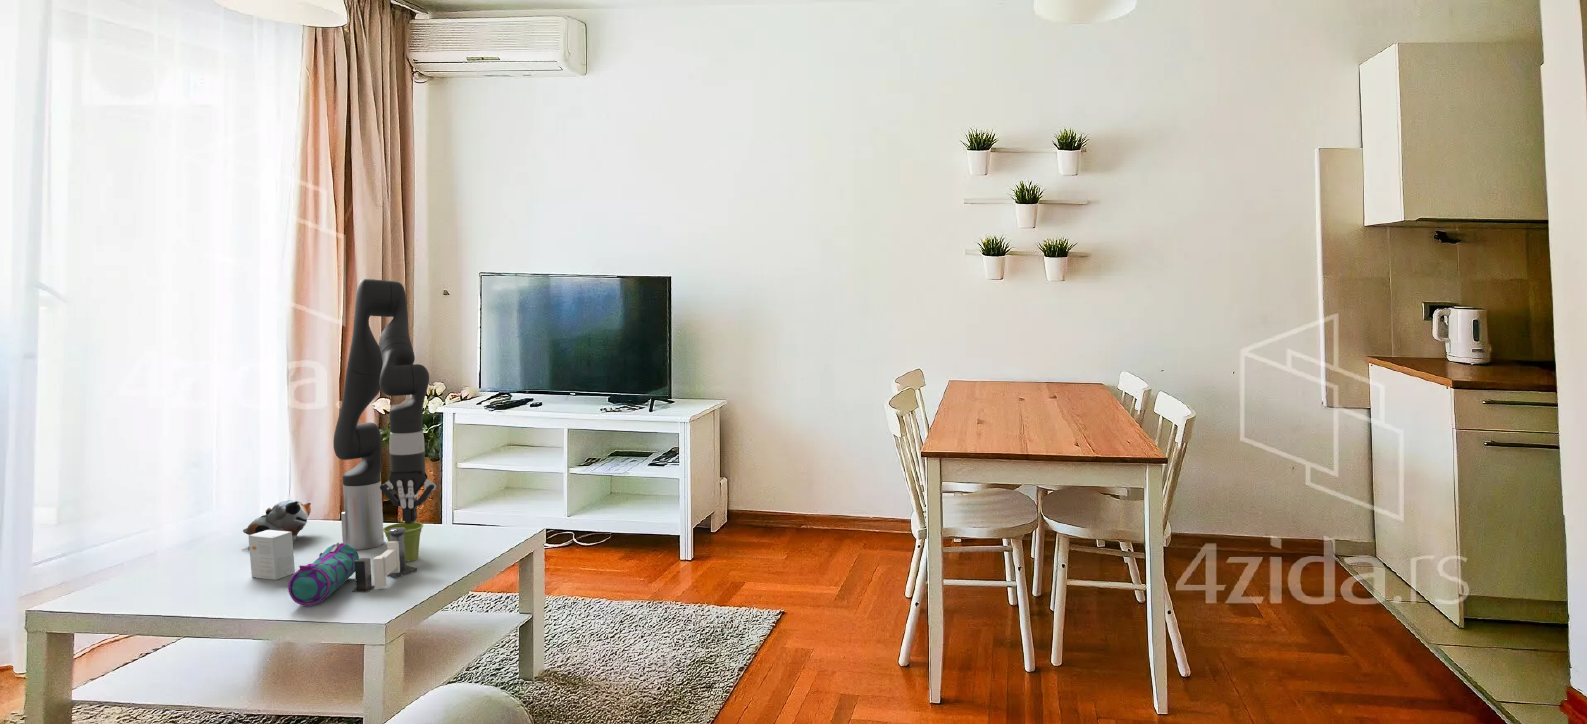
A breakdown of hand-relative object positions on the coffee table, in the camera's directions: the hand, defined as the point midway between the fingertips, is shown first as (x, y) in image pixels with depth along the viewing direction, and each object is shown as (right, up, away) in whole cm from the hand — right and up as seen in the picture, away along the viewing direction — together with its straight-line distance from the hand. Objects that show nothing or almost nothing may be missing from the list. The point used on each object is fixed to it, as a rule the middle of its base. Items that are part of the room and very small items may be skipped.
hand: (409, 522), depth 211 cm
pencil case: (-17, -16, -4) cm, 24 cm away
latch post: (-9, -15, -3) cm, 18 cm away
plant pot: (-10, -13, +20) cm, 25 cm away
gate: (-6, -14, +1) cm, 15 cm away
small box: (-37, -15, +8) cm, 41 cm away
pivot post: (-7, -14, +9) cm, 18 cm away
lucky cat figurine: (-53, -12, +39) cm, 67 cm away
